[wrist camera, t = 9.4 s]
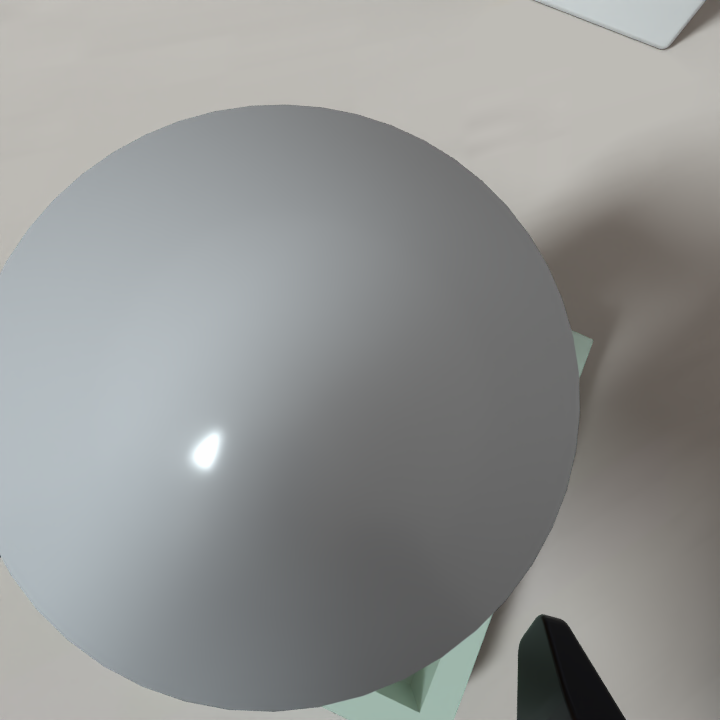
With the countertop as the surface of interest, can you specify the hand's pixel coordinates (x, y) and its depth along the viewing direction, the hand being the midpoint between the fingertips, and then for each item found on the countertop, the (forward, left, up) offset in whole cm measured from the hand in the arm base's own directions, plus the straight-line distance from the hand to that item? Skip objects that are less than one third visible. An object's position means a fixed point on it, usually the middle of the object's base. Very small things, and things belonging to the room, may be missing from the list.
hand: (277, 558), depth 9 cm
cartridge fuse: (+2, 0, -10) cm, 10 cm away
